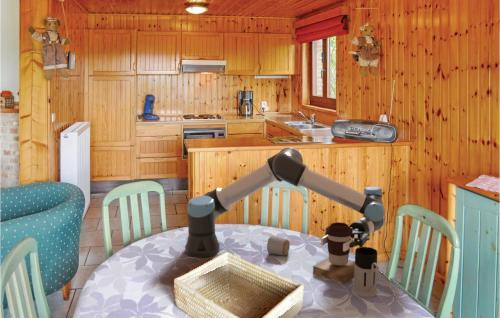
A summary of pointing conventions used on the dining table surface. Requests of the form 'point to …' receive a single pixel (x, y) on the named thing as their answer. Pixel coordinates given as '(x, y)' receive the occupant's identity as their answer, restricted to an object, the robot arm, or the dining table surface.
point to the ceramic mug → (278, 245)
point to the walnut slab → (335, 270)
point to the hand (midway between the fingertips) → (332, 244)
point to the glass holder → (365, 272)
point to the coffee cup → (338, 242)
